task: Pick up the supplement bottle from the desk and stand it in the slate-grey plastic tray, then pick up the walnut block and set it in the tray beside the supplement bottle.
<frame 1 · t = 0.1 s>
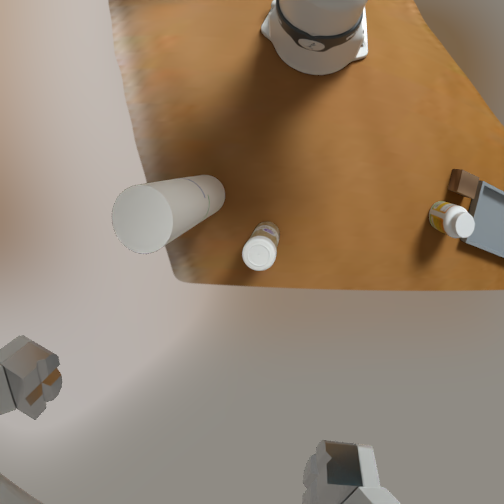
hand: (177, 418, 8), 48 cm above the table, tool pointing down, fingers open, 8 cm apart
supplement bottle: (440, 215, 50), on the table
cylindrical container: (205, 195, 55), on the table
walnut block: (458, 182, 48), on the table
sprinkles bottle: (266, 233, 55), on the table
tray: (496, 222, 49), on the table
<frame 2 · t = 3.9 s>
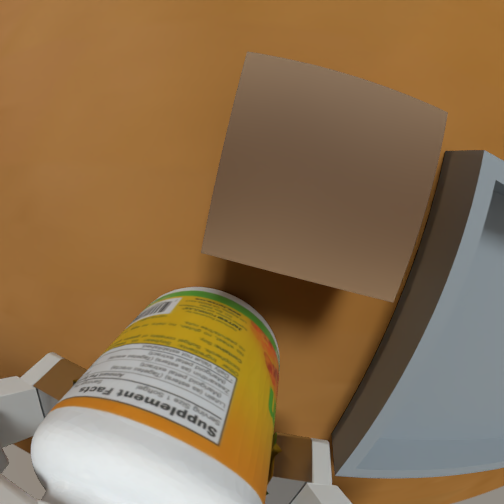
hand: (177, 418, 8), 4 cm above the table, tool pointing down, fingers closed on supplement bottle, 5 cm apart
supplement bottle: (208, 347, 12), on the table, touching gripper
walnut block: (314, 171, 9), on the table
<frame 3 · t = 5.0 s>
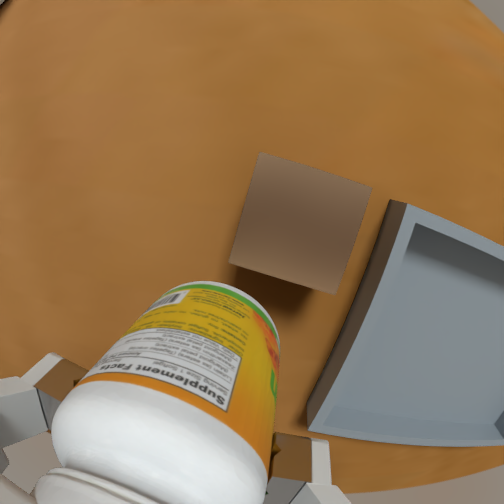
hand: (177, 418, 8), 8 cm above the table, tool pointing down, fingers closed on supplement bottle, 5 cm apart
supplement bottle: (213, 338, 12), point 4 cm above the table, touching gripper
walnut block: (297, 212, 15), on the table
tray: (464, 345, 15), on the table
when the fingers open (4 cm above the table, at t = 17.7 s): supplement bottle stays where it is, resting on tray.
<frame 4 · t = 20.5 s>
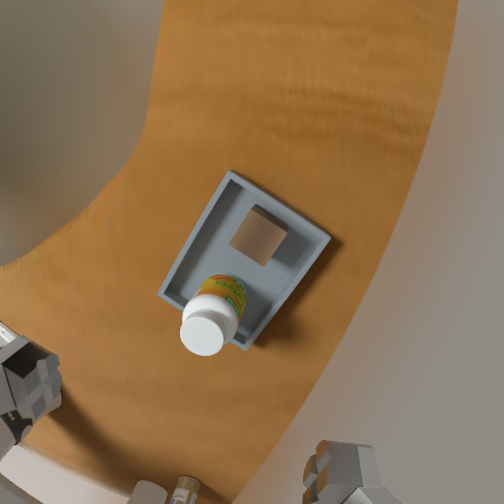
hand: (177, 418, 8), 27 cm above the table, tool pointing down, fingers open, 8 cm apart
supplement bottle: (224, 293, 36), resting on tray
cylindrical container: (152, 488, 52), on the table
walnut block: (261, 229, 33), resting on tray
sprinkles bottle: (190, 480, 49), on the table
tray: (241, 261, 35), on the table
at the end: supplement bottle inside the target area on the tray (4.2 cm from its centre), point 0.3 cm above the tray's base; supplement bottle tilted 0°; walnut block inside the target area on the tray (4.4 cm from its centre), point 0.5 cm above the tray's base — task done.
